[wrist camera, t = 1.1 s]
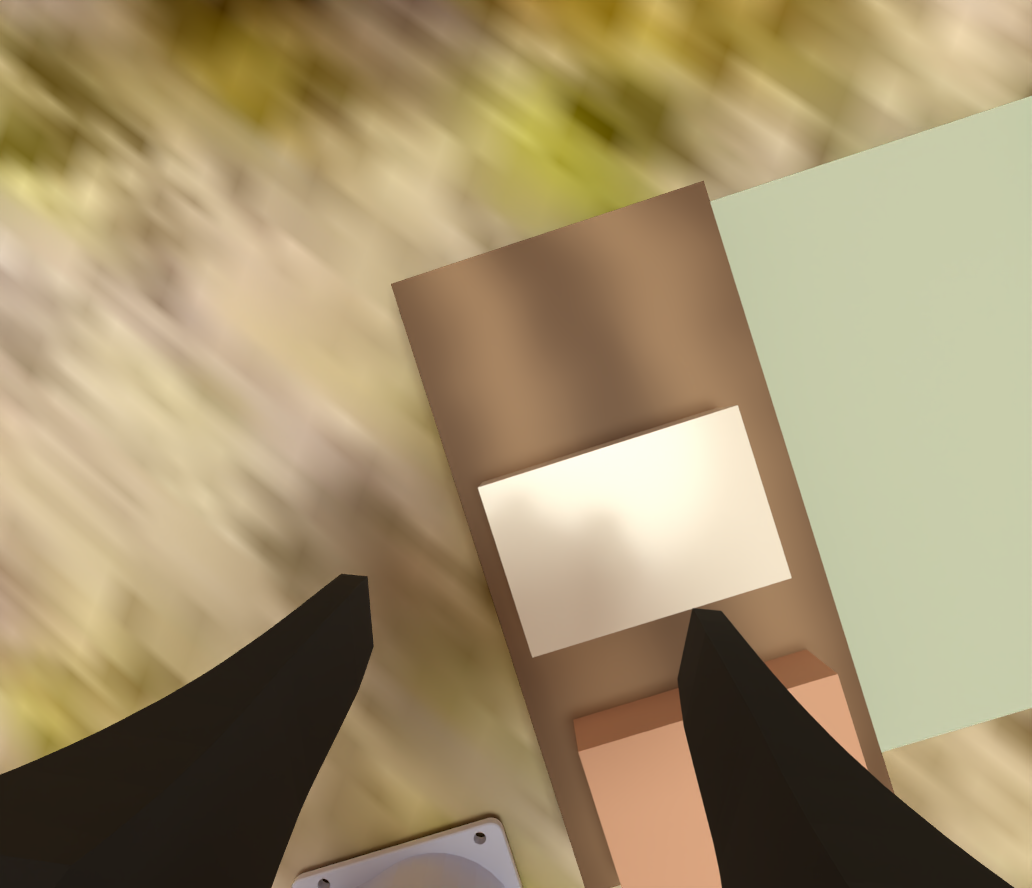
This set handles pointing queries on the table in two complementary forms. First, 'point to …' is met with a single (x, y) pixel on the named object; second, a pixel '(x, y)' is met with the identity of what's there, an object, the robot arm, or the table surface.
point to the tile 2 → (679, 776)
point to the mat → (908, 403)
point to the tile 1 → (634, 530)
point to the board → (606, 417)
